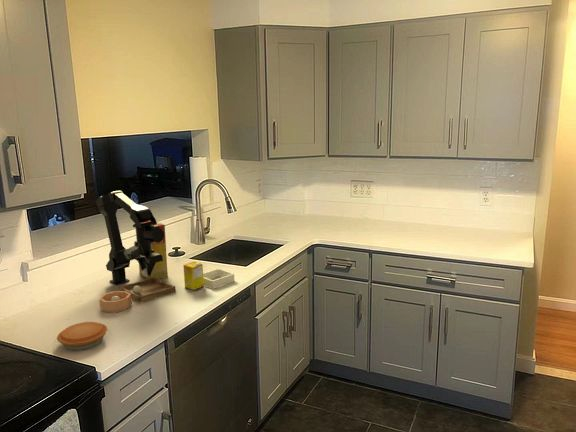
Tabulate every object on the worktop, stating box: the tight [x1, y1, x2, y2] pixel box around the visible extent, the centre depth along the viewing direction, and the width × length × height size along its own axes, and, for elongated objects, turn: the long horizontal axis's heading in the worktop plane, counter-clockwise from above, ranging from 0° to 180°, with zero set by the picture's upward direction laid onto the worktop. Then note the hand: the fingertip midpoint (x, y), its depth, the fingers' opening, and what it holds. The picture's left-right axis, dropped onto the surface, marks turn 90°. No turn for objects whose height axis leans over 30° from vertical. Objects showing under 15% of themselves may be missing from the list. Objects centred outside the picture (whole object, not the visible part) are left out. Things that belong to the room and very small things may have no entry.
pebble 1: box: [111, 296, 120, 301], centre depth 187 cm, size 4×4×4 cm
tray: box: [119, 277, 176, 304], centre depth 202 cm, size 17×16×2 cm
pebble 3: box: [142, 268, 150, 278], centre depth 200 cm, size 4×4×4 cm
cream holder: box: [203, 268, 236, 290], centre depth 213 cm, size 12×13×4 cm
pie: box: [56, 321, 108, 351], centre depth 159 cm, size 16×16×5 cm
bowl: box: [98, 290, 133, 313], centre depth 187 cm, size 11×11×4 cm
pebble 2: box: [133, 286, 142, 294], centre depth 198 cm, size 4×4×4 cm
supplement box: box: [183, 261, 205, 292], centre depth 205 cm, size 6×6×11 cm
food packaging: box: [138, 221, 169, 280], centre depth 220 cm, size 13×9×25 cm
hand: (146, 274), depth 200 cm, fingers closed on pebble 3, 4 cm apart
